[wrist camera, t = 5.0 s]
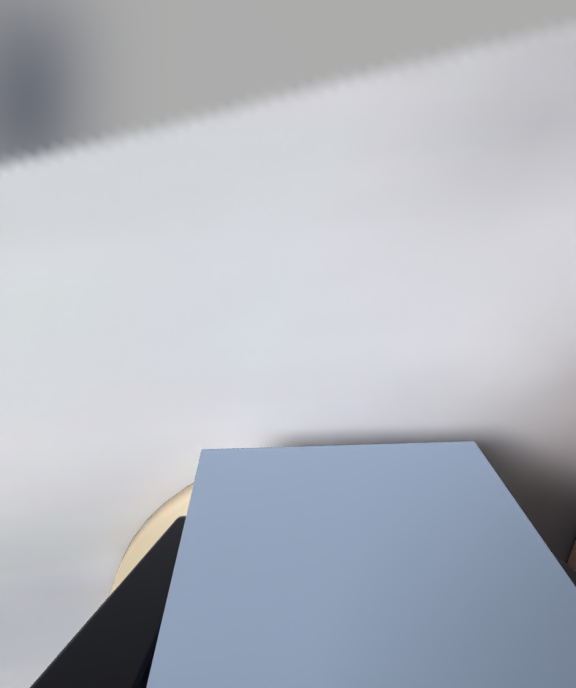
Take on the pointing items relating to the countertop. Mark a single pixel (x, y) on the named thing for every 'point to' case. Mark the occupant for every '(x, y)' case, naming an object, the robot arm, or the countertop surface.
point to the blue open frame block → (362, 575)
